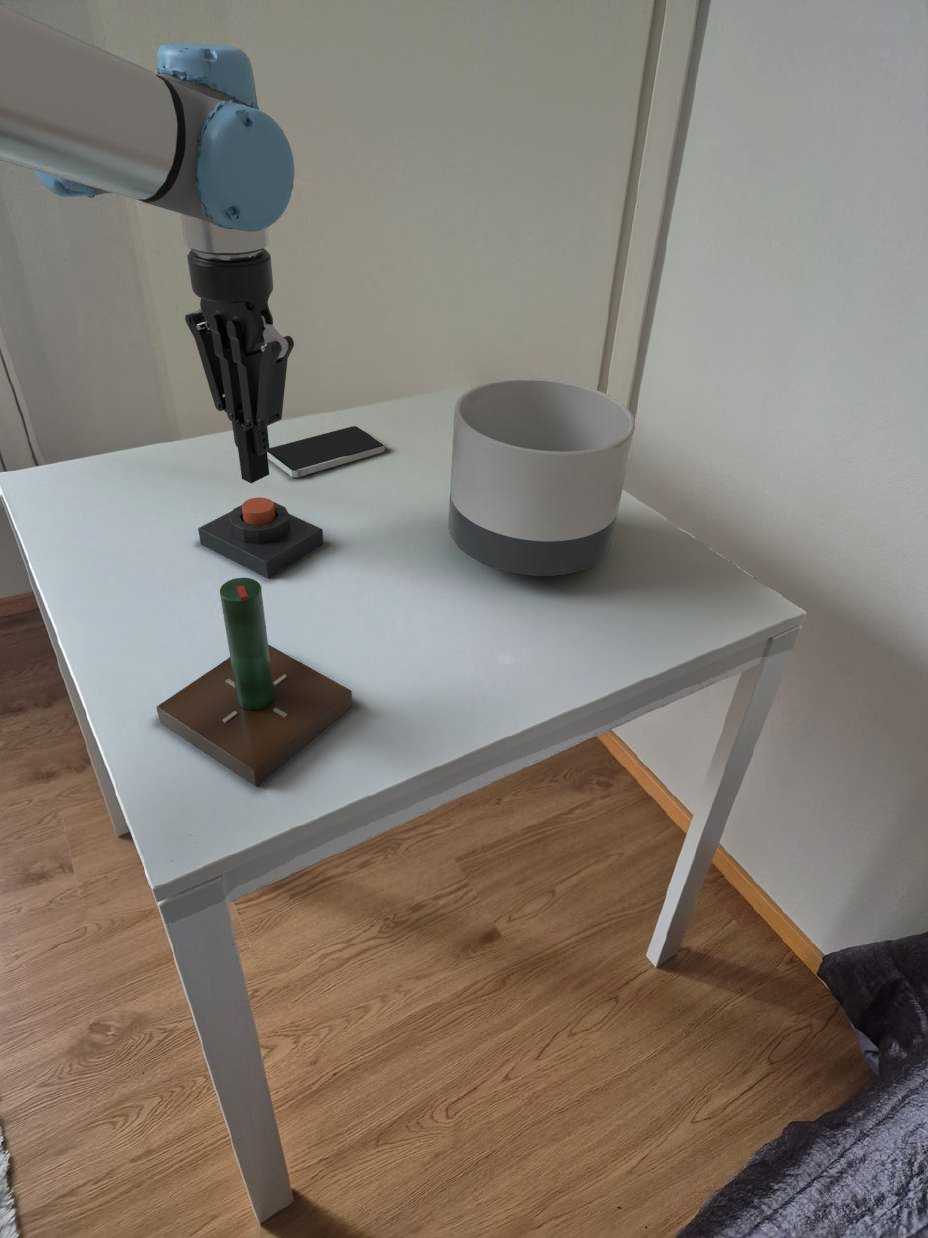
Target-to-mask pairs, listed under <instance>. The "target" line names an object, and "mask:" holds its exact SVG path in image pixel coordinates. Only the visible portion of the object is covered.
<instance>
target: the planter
mask: <svg viewBox="0 0 928 1238" xmlns="http://www.w3.org/2000/svg"><path fill="white" fill-rule="evenodd" d="M453 411H454V412H453V432H452V449H451V468H450V485H449V486H450V488H449V507H448V524H447V525H448V531H449V532H448V533H449V534H450V537H451V539H452V541H453V542H454V544H455V545H456V546H457V547H458V548H459V550H461V551H462V552H463V553H464V554H465V555H467V556H469V557H470V558H471V559H473V560H475V561H477V562H479V563H481V564H482V565H486V566H488V567H490V568H493V569H495V570H498V571H502V572H505V573H510V574H515V575H522V576H532V577H554V576H555V577H556V576H563V575H569V574H573V573H578V572H580V571H584V570H586V569H589V568H590V567H593V566H595V565H596V564H597V563H599V562H601V560H602V559H603V558H605V556H606V555H607V554H608V552H609V551H610V549H611V547H612V543H613V538H614V533H615V529H616V523H617V519H618V514H619V509H620V504H621V498H622V493H623V489H624V484H625V478H626V475H627V469H628V464H629V460H630V455H631V450H632V445H633V439H634V435H635V429H636V421H635V418H634V416H633V414H632V413H631V411H630V410H629V408H628V407H626V405H624V404H623V403H622V402H620V401H619V400H618V399H616V398H614V397H613V396H611V395H609V394H606V393H605V392H602V391H599V390H597V389H594V388H592V387H589V386H585V385H582V384H579V383H574V382H569V381H564V380H557V379H551V378H537V377H519V378H518V377H516V378H515V377H514V378H505V379H504V378H503V379H499V380H492V381H487V382H484V383H481V384H478V385H475V386H474V387H471V388H470V389H468V390H466V391H464V393H462V394H461V395H460V396H459V397H458V399H457V400H456V402H455V404H454V410H453Z"/></svg>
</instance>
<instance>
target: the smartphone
mask: <svg viewBox="0 0 928 1238" xmlns="http://www.w3.org/2000/svg"><path fill="white" fill-rule="evenodd" d="M385 447H386V446H385V443H383V442H382V441H380V440H379V439H377V438H375V436H373V435H371V434H369V433H367V432H366V431H365V430H363V429H362V428H360V427H358V426H357V425H353V426H349V427H344V428H340V429H336V430H333V431H330V432H325V433H322V434H318V435H314V436H310V437H306V438H303V439H299V440H295V441H290V442H287V443H283V444H279V445H276V446H273V447H269V451H268V452H267V456H268V460H270V461H271V462H272V463H274V464H275V465H276V466H277V467H279V468H280V469H281V470H282V471H284V472H285V473H286V474H288V475H289V476H290V477H291V478H299V477H304V476H306V475H310V474H314V473H317V472H320V471H323V470H327V469H330V468H335V467H337V466H342V465H344V464H348V463H351V462H355V461H359V460H362V459H365V458H369V457H371V456H376V455H379V454H381V453H384V452H385V450H386V449H385Z"/></svg>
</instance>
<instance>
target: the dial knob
mask: <svg viewBox="0 0 928 1238" xmlns="http://www.w3.org/2000/svg"><path fill="white" fill-rule="evenodd" d="M262 592H263V591H262V585H261V583H260V582H258V581H257V580H256V579H254V578H251V577H250V578H249V577H236V578H232V579H229V580H227V581H226V582H224V583H223V584H222V585H221V586H220V588H219V596H220V603H221V608H222V615H223V621H224V626H225V633H226V640H227V645H228V651H229V652H228V653H229V657H230V659H231V665H232V671H233V677H234V683H235V689H236V696H237V701H238V704H239V705H240V706H241V707H242V708H244V709H246V710H252V711H255V710H261V709H264V708H266V707H267V706H269V705H270V704H271V703H272V702H273V700H274V689H273V681H272V673H271V665H270V656H269V648H268V644H269V642H268V641H269V640H268V632H267V624H266V623H267V622H266V617H265V609H264V608H265V607H264V600H263V599H264V598H263V593H262Z"/></svg>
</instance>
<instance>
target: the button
mask: <svg viewBox="0 0 928 1238" xmlns="http://www.w3.org/2000/svg"><path fill="white" fill-rule="evenodd" d="M273 502H274V501H273V500H271V499H270V498H267V497H252V498H249V499H247V500H244V502H243V503H242V504H241V505H242V513H243V520H244V522H245V523H247V524H252V525H263V524H268V523H270V522H272V521H274V520H275V507H274V503H273Z"/></svg>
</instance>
